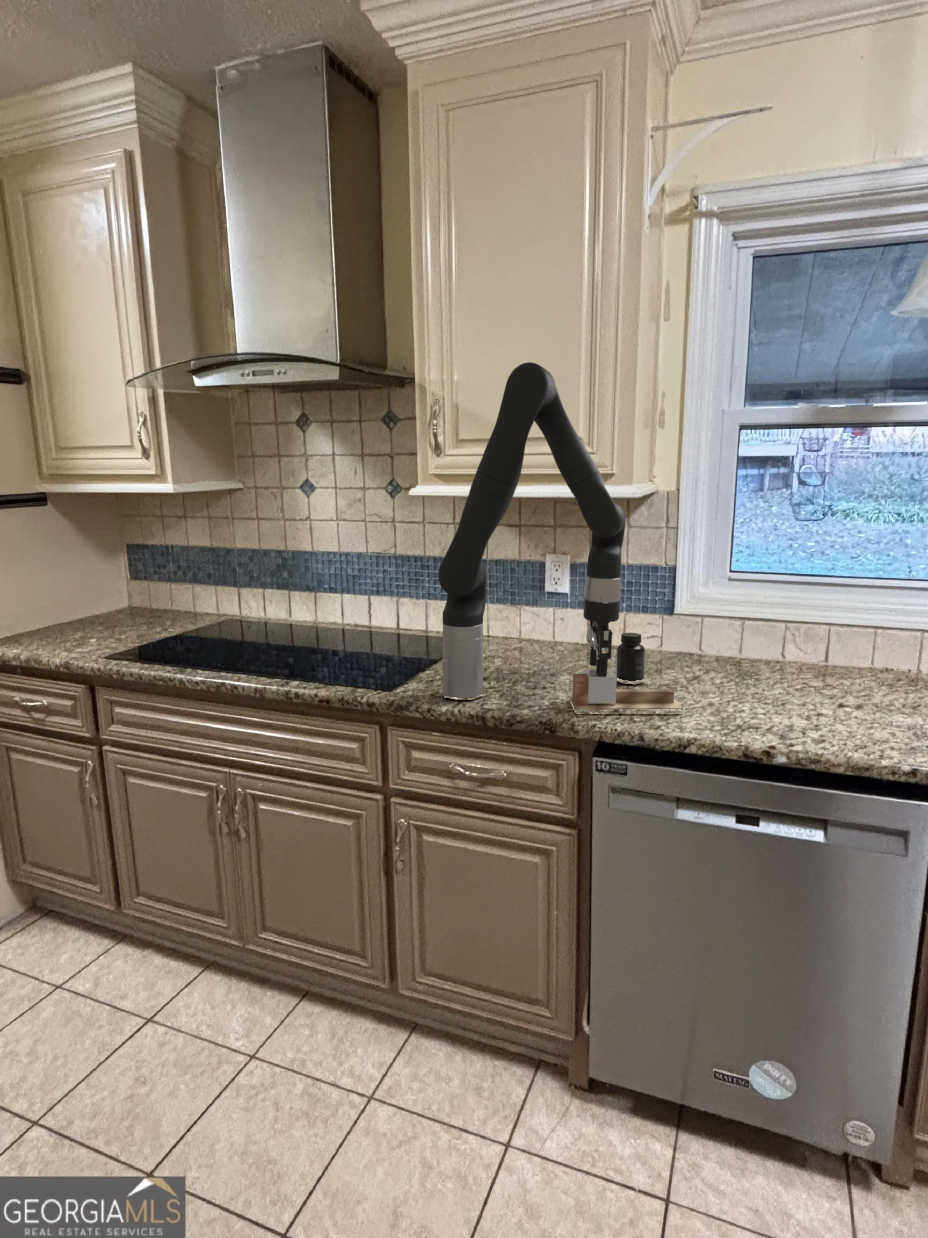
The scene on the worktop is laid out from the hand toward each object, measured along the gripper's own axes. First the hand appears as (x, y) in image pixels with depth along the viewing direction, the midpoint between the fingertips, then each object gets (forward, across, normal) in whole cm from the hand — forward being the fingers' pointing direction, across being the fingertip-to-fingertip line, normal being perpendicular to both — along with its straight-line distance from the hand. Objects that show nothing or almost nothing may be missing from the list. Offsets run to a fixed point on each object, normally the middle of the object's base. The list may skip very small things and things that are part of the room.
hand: (597, 670), depth 158 cm
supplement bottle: (+8, -20, +12) cm, 25 cm away
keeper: (+7, 0, +1) cm, 7 cm away
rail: (+8, 0, +6) cm, 10 cm away
